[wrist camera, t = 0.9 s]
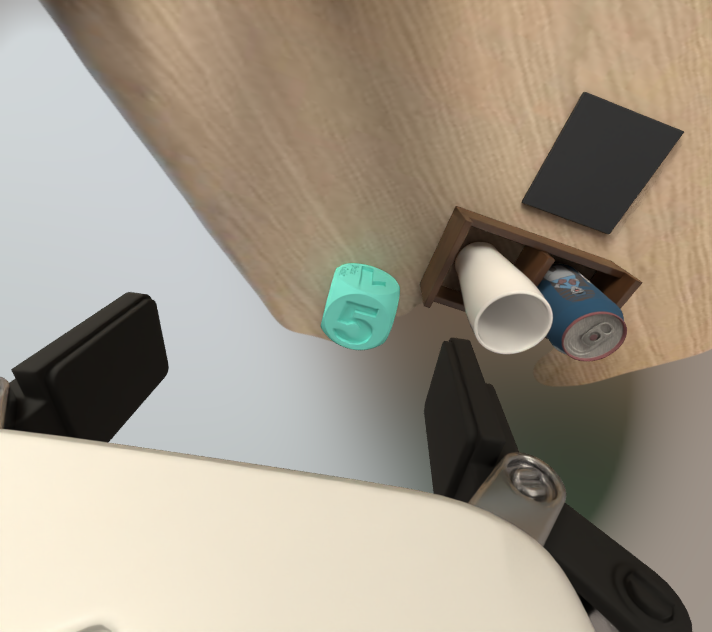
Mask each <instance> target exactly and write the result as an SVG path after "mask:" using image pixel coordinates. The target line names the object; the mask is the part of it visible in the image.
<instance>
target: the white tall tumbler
mask: <svg viewBox="0 0 712 632" xmlns="http://www.w3.org/2000/svg"><path fill="white" fill-rule="evenodd" d="M455 268H456V272H457V274H458V278H459V282H460V287H461V292H462V297H463V302H464V307H465V311H466V315H467V318H468V321H469V323H470V326H471V328H472V330H473V332H474V334H475V336H476V338H477V340H478V342H479V343H480V344H481V345H482V346H483V347H485V348H486V349H488V350H490V351H492V352H495V353H499V354H515V353H520V352H523V351H526V350H528V349H530V348H532V347H534V346H535V345H537V344H538V343H539V342H540V341H542V339H543V338H544V337H545V336H546V335H547V333H548V332H549V330H550V328H551V325H552V321H553V313H552V309H551V307H550V305H549V303H548V302H547V300H546V299H545V297H544V296H543V294H542V293H541V292H540V290H539V289H538V288H537V287H536V286H535V284H534V283H533V282H532V281H531V280H530V279H529V278H528V277H527V276H526V275H525V274H523V273H522V272H521V271H520V270H519V269H518V268H516V267H515V266H514V265H513V264H512V263H511V262H509V261H508V260H507V259H506V258H505V257H504V256H503V255H502V254H500V253H499V251H498V250H497V249H496V248H495V247H494V246H493V245H491V244H489V243H486V242H474V243H471V244H469V245H467V246H465V247H464V248H463V249H462V250H461V251H460V252H459V254H458V255H457V258H456V261H455Z"/></svg>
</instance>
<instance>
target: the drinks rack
mask: <svg viewBox="0 0 712 632" xmlns="http://www.w3.org/2000/svg"><path fill="white" fill-rule="evenodd" d="M471 226H473V227H475V228H478V229H481V230H484V231H487V232H490V233H492V234H495V235H498V236H501V237H504V238H507V239H509V240H512V241H515V242H518V243H521V244H524V245H525V247H524V249H523V250H522V252H521V254H520V255H519V257H518V258H517V260H516V262H515V263H514V266H515V267H516V268H518V269H519V270H520V271H521V272H522V273H523V274H525V275H526V276H527V277H528V278H529V279H530V280H531V281H532V282H533V283H534V284H535V286H536V287H537V286H538V285H539V283H540V282H541V280H542V279H543V277H544V276H545V274H546V273H547V271H548V270H549V268H550V267H551V265H552V264H553V262H554V261H555V260H554V259H553V258H552V257H551V256H550V255H549V254H552V255H555V256H558V257H561V258H563V259H566V260H569V261H572V262H575V263H578V264H580V265H583V266H586V267H589V268H592V269H595V270H597V272H596V273H595V275H594V276H593V277H592V279H591V280H590V282H591V283H592V284H593V285H594V286H595V287H596V288H598V289H599V290H600V291H601V292H602V293H603V294H604V295H606V296H607V297H608V298H609V299H610V300H611V301H612V302H614V303H615V304H616V305H617V306H618V307H619V308H620V309H621V307H622V306H623V305H624V304H625V303H626V302H627V300H628V299H629V298H630V297H631V296H632V294H633V293H634V292H635V291H636V290H637V289H638V287H639V286H640V285H641V284H642V282H641V281H640V280H638V279H637V278H635V277H634V276H633V275H631V274H630V273H628V272H627V271H625V270H624V269H622V268H621V267H619V266H618V265H616V264H615V263H614V262H612V261H610V260H607V259H604V258H601V257H598V256H595V255H593V254H590V253H587V252H584V251H581V250H579V249H576V248H573V247H570V246H567V245H565V244H562V243H559V242H556V241H553V240H551V239H548V238H545V237H542V236H539V235H537V234H534V233H531V232H528V231H525V230H523V229H520V228H517V227H514V226H511V225H509V224H506V223H503V222H500V221H497V220H494V219H492V218H489V217H486V216H483V215H480V214H478V213H475V212H472V211H469V210H466V209H464V208H461V207H458V206H456V207H455V209H454V211H453V214H452V216H451V218H450V220H449V222H448V224H447V226H446V229H445V231H444V233H443V235H442V237H441V239H440V242H439V244H438V246H437V248H436V250H435V252H434V254H433V257H432V259H431V261H430V263H429V265H428V267H427V269H426V272H425V274H424V276H423V278H422V280H421V282H420V287H421V293H422V299H423V304H424V306H426V307H429V308H430V307H431V304H432V303H433V301H434V302H437V303H440V304H443V305H446V306H449V307H452V308H455V309H459V310H461V311H464V312H466V311H465V307H464V302H463V297H462V292H460V291H457V290H454V289H451V288H448V287H445V286H442V283H443V281H444V279H445V277H446V275H447V273H448V271H449V269H450V267H451V265H452V263H453V261H454V259H455V257H456V255H457V253H458V251H459V249H460V247H461V245H462V243H463V241H464V239H465V237H466V235H467V233H468V231H469V229H470V227H471ZM548 253H549V254H548ZM544 338H547V336H545V337H544ZM547 339H548V338H547Z"/></svg>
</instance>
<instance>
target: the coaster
mask: <svg viewBox="0 0 712 632" xmlns="http://www.w3.org/2000/svg"><path fill="white" fill-rule="evenodd" d="M683 133H684V131H681V130H679V129H676V128H674V127H671V126H669V125H666V124H664V123H661V122H659V121H656V120H654V119H651V118H649V117H646V116H644V115H641V114H639V113H636V112H634V111H632V110H629V109H627V108H624V107H622V106H619V105H617V104H614V103H612V102H609V101H607V100H604V99H602V98H599V97H597V96H594V95H592V94H589V93H587V92H583V94H582V96H581V97H580V99H579V101H578V103H577V104H576V106H575V108H574V110H573V112H572V113H571V115H570V117H569V119H568V120H567V122H566V124H565V126H564V128H563V129H562V131H561V133H560V135H559V136H558V138H557V140H556V142H555V144H554V145H553V147H552V149H551V151H550V152H549V154H548V156H547V158H546V160H545V161H544V163H543V165H542V167H541V168H540V170H539V172H538V174H537V176H536V177H535V179H534V181H533V183H532V184H531V186H530V188H529V190H528V192H527V193H526V195H525V197H524V199H523V200H522V203H524V204H527V205H530V206H532V207H535V208H538V209H541V210H543V211H546V212H549V213H551V214H554V215H557V216H560V217H562V218H565V219H568V220H571V221H573V222H576V223H579V224H582V225H584V226H587V227H590V228H593V229H595V230H598V231H601V232H604V233H606V234H610V233H611V232H612V230H613V229H614V227H615V226H616V225H617V223H618V222H619V221H620V219H621V218H622V216H623V215H624V214H625V212H626V211H627V210H628V208H629V207H630V206H631V204H632V203H633V201H634V200H635V199H636V197H637V196H638V195H639V193H640V192H641V190H642V189H643V188H644V186H645V185H646V184H647V182H648V181H649V180H650V178H651V177H652V175H653V174H654V173H655V171H656V170H657V169H658V167H659V166H660V164H661V163H662V162H663V160H664V159H665V158H666V156H667V155H668V153H669V152H670V151H671V149H672V148H673V147H674V145H675V144H676V143H677V141H678V140H679V138H680V137H681V136H682V134H683Z"/></svg>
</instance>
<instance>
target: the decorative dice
mask: <svg viewBox="0 0 712 632" xmlns="http://www.w3.org/2000/svg"><path fill="white" fill-rule="evenodd" d="M399 295H400V286H399V285H398V283H397V281H396V280H395V279H394V278H393V277H392V276H391V275H389V274H388V273H386V272H384V271H382V270H380V269H378V268H375V267H372V266H369V265H365V264H358V263H349V264H344V265H341V266H340V267H338V268H336V271H335V274H334V277H333V280H332V284H331V288H330V291H329V295H328V299H327V302H326V306H325V310H324V314H323V318H322V322H321V328H322V330H323V331H324V333H325V334H326V335H327V336H328V337H329V338H330V339H331V340H332V341H333V342H335V343H336V344H338V345H340V346H343V347H345V348H349V349H353V350H368V349H372V348H375V347H377V346H380V345H381V344H383V343H384V342H385V341H386V339H387V338H388V335H389V333H390V330H391V328H392V324H393V322H394V318H395V315H396V311H397V307H398V302H399Z"/></svg>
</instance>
